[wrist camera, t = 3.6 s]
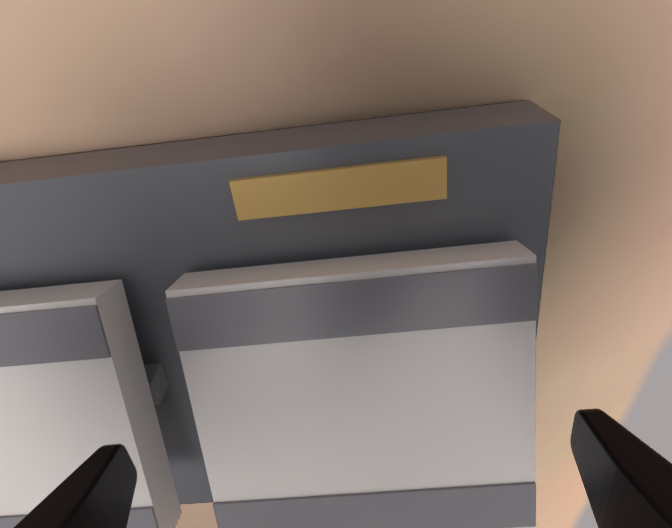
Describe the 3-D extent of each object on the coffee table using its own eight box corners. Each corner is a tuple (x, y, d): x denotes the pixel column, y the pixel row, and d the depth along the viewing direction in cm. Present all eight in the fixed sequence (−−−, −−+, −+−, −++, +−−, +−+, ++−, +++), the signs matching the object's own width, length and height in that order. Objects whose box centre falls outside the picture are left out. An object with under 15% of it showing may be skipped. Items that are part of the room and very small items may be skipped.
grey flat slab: (517, 490, 17) (535, 531, 15) (235, 508, 17) (223, 549, 16) (516, 240, 14) (537, 256, 13) (184, 273, 15) (163, 292, 13)
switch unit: (502, 433, 22) (527, 504, 19) (10, 469, 24) (-38, 539, 21) (528, 99, 15) (576, 130, 12) (-189, 184, 16) (-309, 230, 13)
